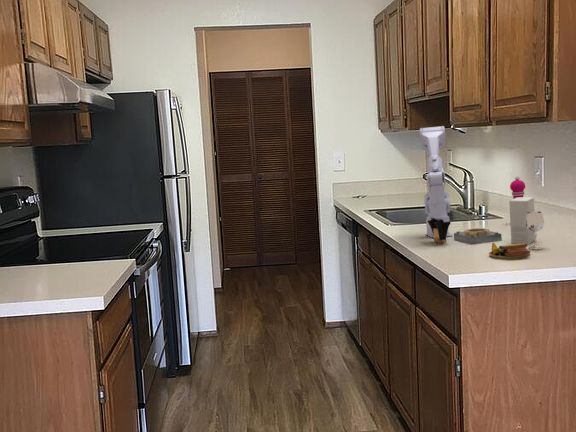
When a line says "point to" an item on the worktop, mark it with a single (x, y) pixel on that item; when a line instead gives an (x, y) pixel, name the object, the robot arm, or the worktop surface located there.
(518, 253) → the toy sandwich meal
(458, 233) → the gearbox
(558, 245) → the worktop surface
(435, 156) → the robot arm
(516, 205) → the skincare box
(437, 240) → the copper spout can
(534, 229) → the wineglass
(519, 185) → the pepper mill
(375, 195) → the worktop surface
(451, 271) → the worktop surface
